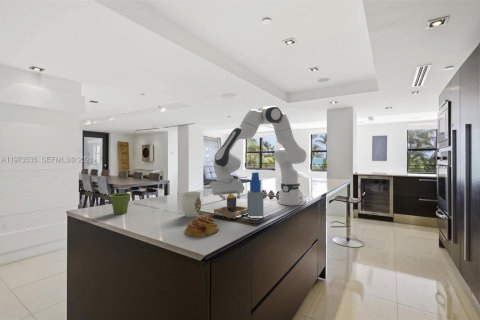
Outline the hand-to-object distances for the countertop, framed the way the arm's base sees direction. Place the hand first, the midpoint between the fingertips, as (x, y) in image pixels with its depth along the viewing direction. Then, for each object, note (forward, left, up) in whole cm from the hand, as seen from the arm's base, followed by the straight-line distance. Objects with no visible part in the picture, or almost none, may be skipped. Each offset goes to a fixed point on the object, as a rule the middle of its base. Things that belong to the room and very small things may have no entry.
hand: (231, 199), depth 142 cm
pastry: (+32, +8, -9) cm, 34 cm away
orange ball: (+1, 0, +1) cm, 2 cm away
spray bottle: (-3, +14, -9) cm, 17 cm away
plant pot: (+38, -56, -9) cm, 68 cm away
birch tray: (+1, +1, -9) cm, 9 cm away
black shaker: (+1, +1, -8) cm, 8 cm away
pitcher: (+16, -17, -9) cm, 25 cm away
